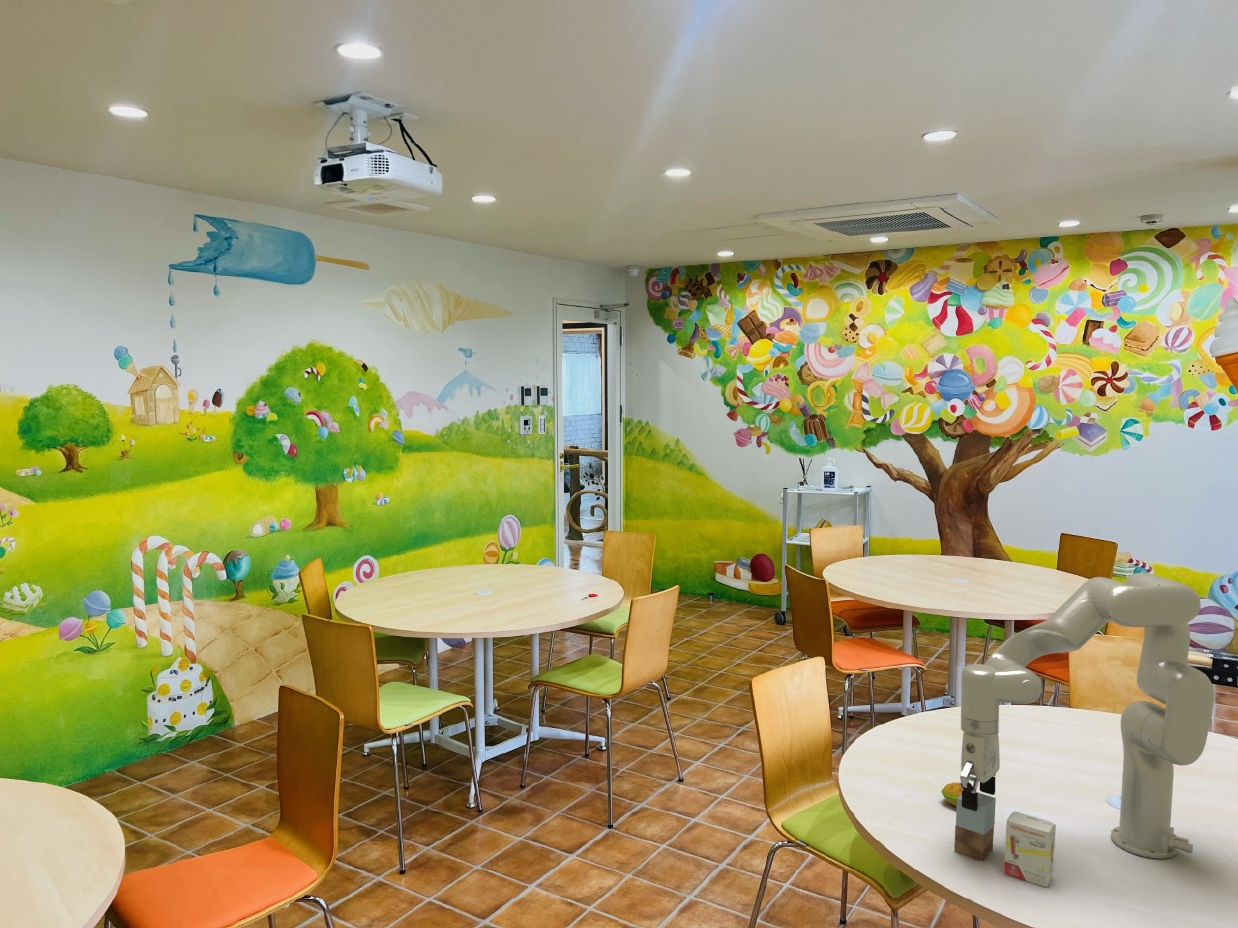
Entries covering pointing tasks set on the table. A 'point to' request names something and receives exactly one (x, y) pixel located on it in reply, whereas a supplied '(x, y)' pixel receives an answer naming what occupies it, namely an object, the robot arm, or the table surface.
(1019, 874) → the ink box
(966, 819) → the gray block
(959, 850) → the walnut block
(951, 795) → the toy pineapple
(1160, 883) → the table surface
